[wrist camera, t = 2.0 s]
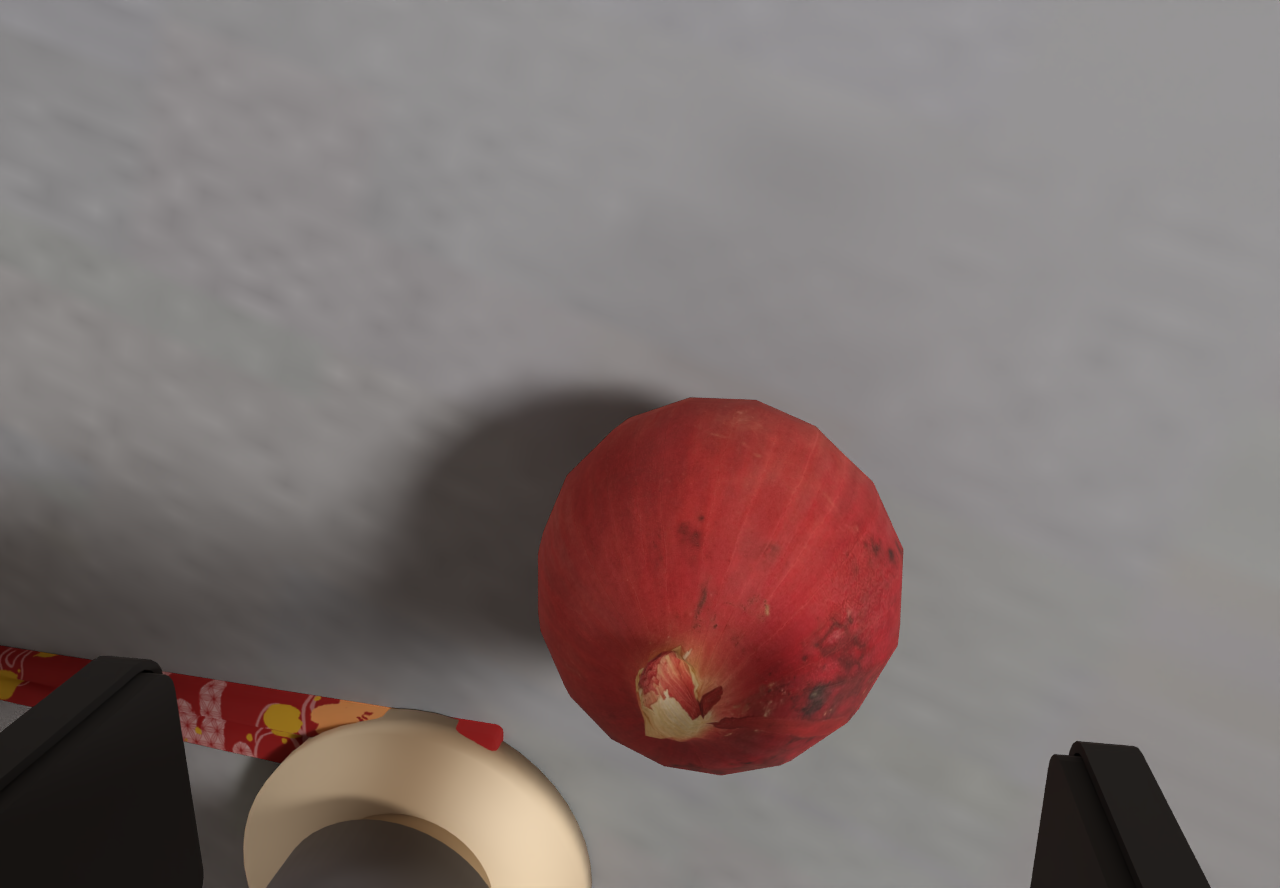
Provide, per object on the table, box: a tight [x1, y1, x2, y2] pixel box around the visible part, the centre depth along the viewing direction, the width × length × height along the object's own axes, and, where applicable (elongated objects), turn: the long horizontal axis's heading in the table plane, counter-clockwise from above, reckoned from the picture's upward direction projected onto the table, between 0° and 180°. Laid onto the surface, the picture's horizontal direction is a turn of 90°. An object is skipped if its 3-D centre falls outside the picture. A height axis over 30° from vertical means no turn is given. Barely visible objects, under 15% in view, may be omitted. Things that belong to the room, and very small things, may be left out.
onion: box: [538, 397, 903, 775], centre depth 17 cm, size 6×6×8 cm
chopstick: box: [0, 645, 503, 763], centre depth 25 cm, size 2×24×1 cm, turn 86°
